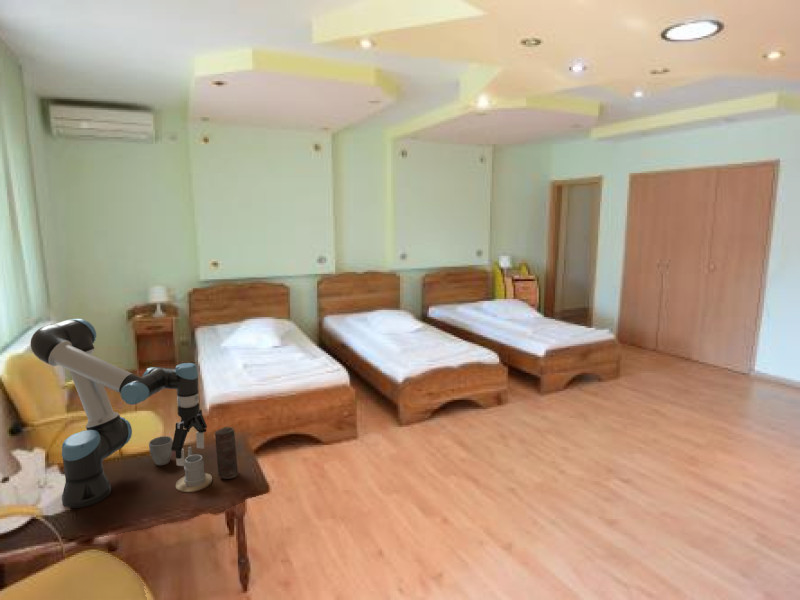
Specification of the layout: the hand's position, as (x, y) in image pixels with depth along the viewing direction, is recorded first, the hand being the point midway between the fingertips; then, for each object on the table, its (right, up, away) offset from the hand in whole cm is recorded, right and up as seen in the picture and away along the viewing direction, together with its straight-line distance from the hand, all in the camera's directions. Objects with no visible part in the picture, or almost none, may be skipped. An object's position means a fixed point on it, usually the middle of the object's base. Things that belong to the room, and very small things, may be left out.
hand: (190, 456), depth 184 cm
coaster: (+1, -11, +2) cm, 11 cm away
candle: (+12, -10, +7) cm, 17 cm away
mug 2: (0, -10, +3) cm, 11 cm away
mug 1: (-20, -8, +19) cm, 29 cm away
